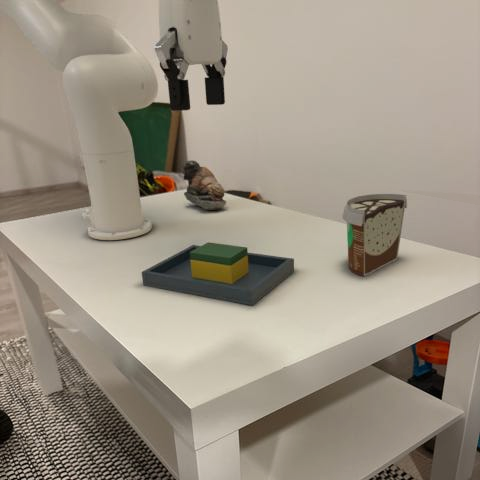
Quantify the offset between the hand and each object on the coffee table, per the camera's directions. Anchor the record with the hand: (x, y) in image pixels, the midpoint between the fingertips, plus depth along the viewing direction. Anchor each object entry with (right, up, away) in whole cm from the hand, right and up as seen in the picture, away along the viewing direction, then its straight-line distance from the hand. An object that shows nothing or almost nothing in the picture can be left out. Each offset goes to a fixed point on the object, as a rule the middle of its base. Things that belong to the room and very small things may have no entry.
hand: (198, 107), depth 78 cm
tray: (+3, -26, -1) cm, 27 cm away
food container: (+26, -24, +2) cm, 35 cm away
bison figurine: (-2, -7, +39) cm, 39 cm away
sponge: (+3, -26, -1) cm, 26 cm away
